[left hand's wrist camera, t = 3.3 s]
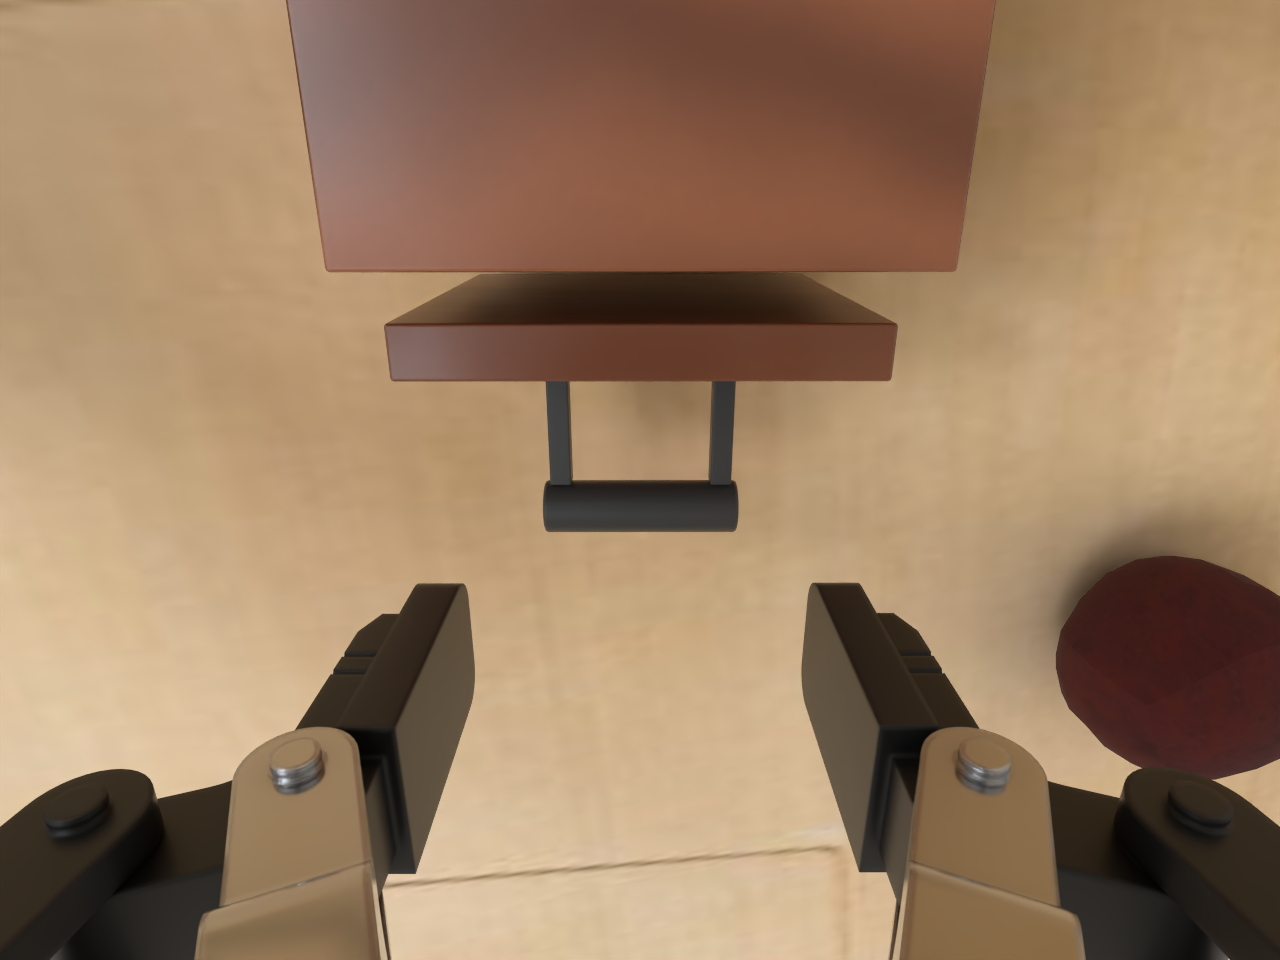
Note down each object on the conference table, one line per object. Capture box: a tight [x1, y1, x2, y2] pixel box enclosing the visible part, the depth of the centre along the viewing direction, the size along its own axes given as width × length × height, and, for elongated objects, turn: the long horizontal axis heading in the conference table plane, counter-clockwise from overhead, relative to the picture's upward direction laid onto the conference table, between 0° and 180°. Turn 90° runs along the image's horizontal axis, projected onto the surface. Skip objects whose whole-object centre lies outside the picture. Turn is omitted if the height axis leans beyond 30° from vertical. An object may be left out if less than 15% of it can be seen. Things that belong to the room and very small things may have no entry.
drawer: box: [384, 274, 898, 532], centre depth 18 cm, size 21×10×10 cm, turn 0°
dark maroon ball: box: [1056, 556, 1280, 780], centre depth 26 cm, size 7×8×7 cm
